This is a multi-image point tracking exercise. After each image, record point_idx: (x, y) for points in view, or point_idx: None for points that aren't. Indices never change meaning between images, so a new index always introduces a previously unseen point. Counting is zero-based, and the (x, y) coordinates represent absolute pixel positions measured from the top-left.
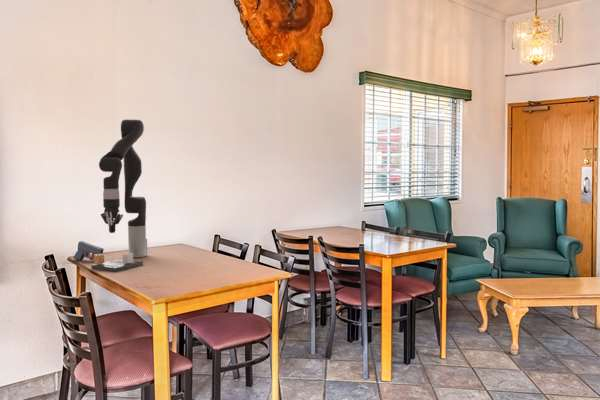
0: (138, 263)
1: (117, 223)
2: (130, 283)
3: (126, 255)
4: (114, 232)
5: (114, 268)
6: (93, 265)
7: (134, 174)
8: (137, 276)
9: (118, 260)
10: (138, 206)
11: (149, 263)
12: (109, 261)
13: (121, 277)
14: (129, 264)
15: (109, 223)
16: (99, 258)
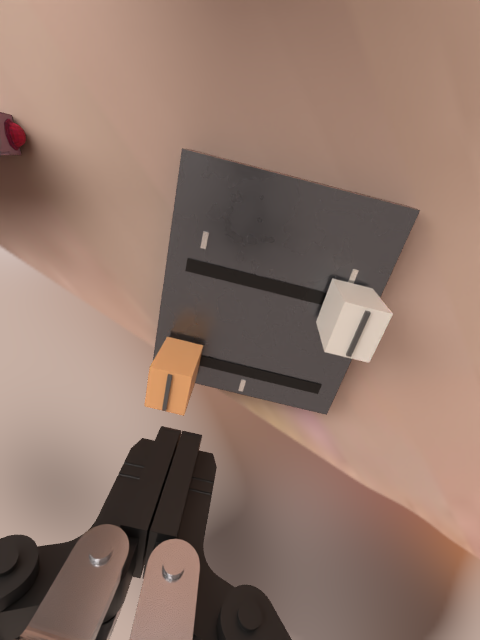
0: (396, 254)
1: (264, 621)
2: (472, 534)
3: (356, 356)
4: (201, 437)
5: (317, 410)
6: None
7: None
8: (467, 452)
9: (220, 222)
10: None
11: (438, 128)
12: (183, 268)
13: (398, 472)
14: None
15: (108, 622)
16: (190, 394)
